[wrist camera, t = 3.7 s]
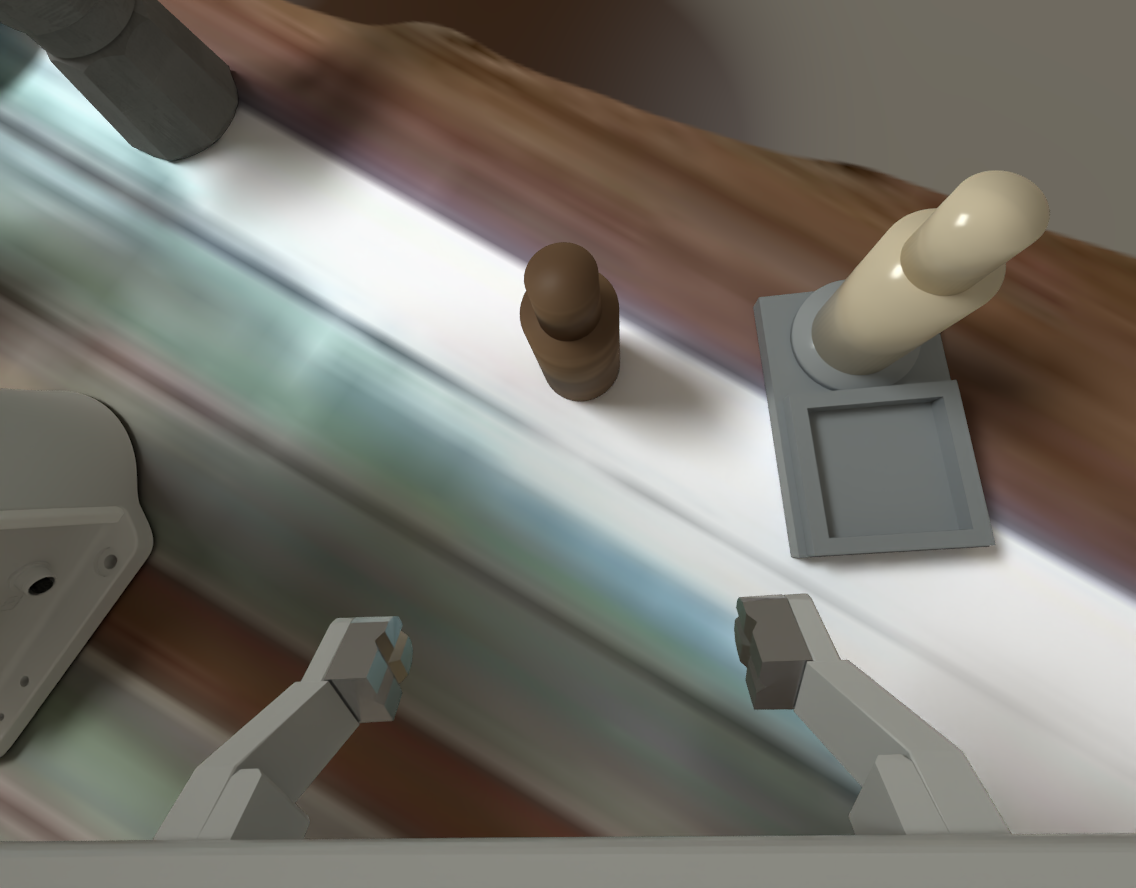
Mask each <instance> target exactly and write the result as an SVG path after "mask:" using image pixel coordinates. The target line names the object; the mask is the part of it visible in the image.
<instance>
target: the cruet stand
mask: <svg viewBox="0 0 1136 888" xmlns="http://www.w3.org/2000/svg"><path fill="white" fill-rule="evenodd" d="M1049 216H1050V210H1049V205H1048V202H1047V199H1046V197H1045V196H1044V194H1043V193H1042V191H1041V190H1040V189H1039V188H1038V187H1037V186H1036V185H1035V184H1034V183H1033V182H1031V181H1030V180H1028V179H1027V178H1025V177H1023V176H1021V175H1018V174H1015V173H1011V172H1007V171H986V172H981V173H978V174H975V175H973V176H971V177H969V178H968V179H966V180H965V181H963V182H962V183H961V184H960V185H959V186H958V187H957V188H956V189H955V190H954V191H953V193H951V195H950V196H949V197H948V198H947V199H946V200H945V201H944V202H943V203H942V204H941V205H940V206H939V207H938V208H937V209H926V210H921V211H917V212H914V213H912V214H909V215H907V216H905V217H903V218H902V219H900V220H899V221H898V222H896V223H895V224H894V225H893V226H892V227H891V228H890V229H889V230H888V231H887V232H886V234H885V235H884V236H883V237H882V238H881V239H880V241H879V242H878V243H877V244H876V245H875V246H874V247H873V249H872V250H871V251H870V252H869V253H868V254H867V256H866V257H865V258H864V259H863V260H862V261H861V262H860V264H859V265H858V266H857V267H856V268H855V269H854V271H853V272H852V273H851V274H850V275H849V276H848V278H847V279H846V280H841V281H836V282H833V283H830V284H827V285H825V286H823V287H821V288H820V289H818V290H816V291H814V292H805V293H796V294H786V295H777V296H768V297H759V298H758V300H757V302H756V303H755V305H754V307H753V309H754V315H755V322H756V329H757V335H758V342H759V348H760V355H761V362H762V368H763V375H764V381H765V388H766V395H767V401H768V408H769V414H770V421H771V428H772V434H773V441H774V447H775V454H776V461H777V467H778V474H779V480H780V487H781V493H782V500H783V507H784V513H785V520H786V526H787V533H788V540H789V546H790V553H791V557H797V558H804V557H821V556H837V555H854V554H871V553H888V552H905V551H921V550H938V549H955V548H972V547H989V546H990V545H995V541H994V537H993V532H992V528H991V524H990V519H989V515H988V511H987V507H986V502H985V498H984V494H983V490H982V485H981V481H980V477H979V473H978V468H977V464H976V460H975V456H974V451H973V447H972V443H971V438H970V434H969V430H968V426H967V421H966V417H965V413H964V409H963V404H962V400H961V396H960V392H959V387H958V383H957V380H951V379H950V374H949V370H948V366H947V362H946V357H945V353H944V349H943V344H942V340H941V336H940V333H941V332H942V331H944V330H945V329H947V328H948V327H950V326H951V325H953V324H955V323H956V322H958V321H959V320H961V319H962V318H964V317H965V316H967V315H968V314H970V313H972V312H973V311H975V310H976V309H978V308H979V307H981V306H982V305H984V304H985V303H987V302H988V301H989V300H990V299H991V298H992V297H993V296H994V295H995V294H996V293H997V291H998V290H999V288H1000V286H1001V284H1002V282H1003V279H1004V276H1005V270H1006V262H1007V261H1008V260H1010V259H1011V258H1013V257H1014V256H1015V255H1017V254H1018V253H1020V252H1021V251H1022V250H1024V249H1025V248H1027V247H1028V246H1029V245H1031V244H1032V243H1033V242H1035V241H1036V240H1037V239H1038V238H1039V237H1040V236H1041V235H1042V234H1043V233H1044V231H1045V230H1046V228H1047V225H1048V222H1049Z"/></svg>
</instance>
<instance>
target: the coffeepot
mask: <svg viewBox="0 0 1136 888" xmlns="http://www.w3.org/2000/svg"><path fill="white" fill-rule="evenodd" d="M0 22H1V23H2V24H4V25H7V26H9V27H11V28H13V29H16V30H18V31H21V32H24V33H26V34H27V35H28V36H29V37H31V38H32V39H33V40H34V41H35V42H36V43H37V44H39V45H40V46H41V47H42V48H43V49H44V50H46V52H47V54H48V56H49V59H50V61H51V62H52V63H53V64H54V65H55V66H56V67H57V68H58V69H59V70H60V71H61V72H62V74H63V75H64V76H65V77H66V78H67V79H68V80H69V81H70V82H71V83H72V84H73V85H74V86H75V87H76V88H77V89H78V90H79V91H80V92H81V93H82V94H83V96H84V97H85V98H86V99H87V100H88V101H89V102H90V103H91V104H92V105H93V106H94V107H95V108H96V109H97V110H98V111H99V112H100V113H101V114H102V115H103V117H104V118H105V119H106V120H107V121H108V122H109V123H110V124H111V125H112V126H113V127H114V128H115V129H116V130H117V131H118V132H119V133H120V134H121V135H122V136H123V137H124V139H125V140H126V141H127V142H128V143H129V144H130V145H131V146H132V147H134V148H137V149H139V150H142V151H144V152H146V153H148V154H150V155H152V156H154V157H157V158H161V159H166V160H168V161H169V160H175V159H182V158H186V157H189V156H192V155H195V154H197V153H199V152H201V151H203V150H205V149H206V148H208V147H209V146H210V145H212V144H213V143H214V142H215V141H216V140H217V139H218V138H220V137H221V136H222V134H223V133H224V132H225V130H226V129H227V128H228V126H229V125H230V123H231V121H232V119H233V117H234V114H235V111H236V108H237V104H238V95H237V88H236V85H235V83H234V80H233V78H232V76H231V73H230V69H229V66H228V65H227V64H226V63H225V62H224V61H222V60H221V59H220V58H219V57H218V56H217V55H216V54H215V53H214V52H213V51H212V50H211V49H209V48H208V47H207V46H206V45H205V44H204V43H203V42H202V41H201V40H200V39H199V38H198V37H196V36H195V35H194V34H193V33H192V32H191V31H190V30H189V29H188V28H187V27H186V26H185V25H183V24H182V23H181V22H180V21H179V20H178V19H177V18H176V17H175V16H174V15H173V14H171V13H170V12H169V11H168V10H167V9H166V8H165V7H164V6H163V5H162V4H161V3H160V2H158V1H157V0H0Z"/></svg>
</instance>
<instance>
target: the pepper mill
mask: <svg viewBox="0 0 1136 888" xmlns="http://www.w3.org/2000/svg"><path fill="white" fill-rule="evenodd" d="M524 284H525V288H526V292H525V294H524V296H523V299H522V302H521V307H520V321H521V326H522V329H523V331H524V334H525V336H526V338H527V340H528V342H529V344H530V346H531V348H532V351H533V353H534V355H535V357H536V359H537V361H538V363H539V365H540V367H541V370H542V372H543V374H544V376H545V378H546V380H547V382H548V384H549V385H550V387H551V388H552V389H553V390H554V391H555V392H556V393H557V394H559V395H560V396H562V397H564V398H566V399H569V400H573V401H588V400H592V399H595V398H597V397H599V396H601V395H602V394H604V393H605V392H606V391H608V390H609V389H610V387H611V386H612V385H613V384H614V382H615V380H616V378H617V376H618V373H619V367H620V343H619V302H618V298H617V294H616V292H615V290H614V288H613V286H612V285H611V284H610V282H609V281H608V280H607V279H606V278H605V277H604V276H603V275H601V274H600V273H598V267H597V264H596V261H595V259H594V258H593V256H592V255H591V254H590V253H589V252H588V251H587V250H586V249H584V248H583V247H581V246H579V245H576V244H573V243H566V242H561V243H554V244H551V245H548V246H546V247H544V248H542V249H541V250H539V251H538V252H537V253H536V254H535V255H534V256H533V257H532V258H531V259H530V261H529V263H528V265H527V267H526V270H525V274H524Z"/></svg>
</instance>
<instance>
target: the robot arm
mask: <svg viewBox="0 0 1136 888" xmlns="http://www.w3.org/2000/svg"><path fill="white" fill-rule="evenodd" d="M152 547H153V535H152V531H151V528H150V526H149V523H148V521H147V519H146V517H145V514H144V512H143V510H142V508H141V506H140V504H139V500H138V492H137V469H136V461H135V455H134V451H133V447H132V444H131V441H130V439H129V436H128V434H127V432H126V430H125V428H124V427H123V425H122V424H121V422H120V421H119V419H118V418H117V417H116V416H115V414H114V413H113V412H112V411H111V410H110V409H108V408H107V407H106V406H105V405H103V404H102V403H101V402H99V401H97V400H96V399H94V398H92V397H89V396H87V395H84V394H81V393H77V392H72V391H60V390H52V391H42V390H21V389H8V388H0V757H2V756H3V755H4V754H5V753H6V752H7V751H8V749H9V748H10V747H11V746H12V744H13V743H14V742H15V740H16V739H17V738H18V736H19V735H20V734H21V732H22V731H23V730H24V728H25V727H26V725H27V724H28V723H29V721H30V720H31V718H32V717H33V716H34V714H35V713H36V712H37V710H38V709H39V707H40V706H41V705H42V703H43V702H44V700H45V699H46V698H47V696H48V695H49V694H50V692H51V691H52V689H53V688H54V687H55V685H56V684H57V683H58V681H59V680H60V678H61V677H62V676H63V674H64V673H65V671H66V670H67V669H68V667H69V666H70V665H71V663H72V662H73V660H74V659H75V658H76V656H77V655H78V653H79V652H80V651H81V649H82V648H83V647H84V645H85V644H86V642H87V641H88V640H89V638H90V637H91V635H92V634H93V633H94V631H95V630H96V629H97V627H98V626H99V624H100V623H101V622H102V620H103V619H104V617H105V616H106V615H107V613H108V612H109V611H110V609H111V608H112V606H113V605H114V604H115V602H116V601H117V600H118V598H119V597H120V595H121V594H122V593H123V591H124V590H125V588H126V587H127V586H128V584H129V583H130V582H131V580H132V579H133V577H134V576H135V575H136V573H137V572H138V570H139V569H140V568H141V566H142V565H143V564H144V562H145V561H146V559H147V558H148V556H149V555H150V553H151V550H152ZM116 562H117V564H116ZM736 608H737V612H738V615H739V617H738V618H736V619H735V627H734V631H735V642H736V647H737V651H738V655H739V659H740V662H741V663H743V664H744V665H745V666H746V667H747V673H746V683H747V687H748V690H749V694H750V697H751V701H752V704H753V707H754V710H755V709H794V712H795V713H796V714H797V715H798V716H799V718H800V719H801V720H802V721H803V722H804V723H805V724H806V725H807V726H808V728H809V729H810V730H811V731H812V732H813V733H814V734H815V735H816V736H817V738H818V739H819V740H820V741H821V742H822V743H823V744H824V745H825V746H826V748H827V749H828V750H829V751H830V752H831V753H832V754H833V755H834V756H835V757H836V759H837V760H838V761H839V762H840V763H841V764H842V765H843V766H844V767H845V769H846V770H847V771H848V772H849V773H850V774H851V775H852V776H853V777H854V779H855V780H856V781H857V782H858V783H859V784H860V785H861V786H862V789H861V791H860V793H859V795H858V797H857V800H856V802H855V804H854V806H853V808H852V810H851V812H850V814H849V818H850V821H851V824H852V827H853V829H854V832H855V835H798V836H658V837H518V838H384V839H304V836H305V834H306V831H307V829H308V826H309V823H310V821H309V818H308V815H307V814H305V813H304V812H303V811H302V810H301V809H300V808H299V807H298V806H297V805H296V804H295V802H296V801H297V800H298V798H299V797H300V796H301V795H302V794H303V792H304V791H305V790H306V789H307V788H308V786H309V785H310V784H311V783H312V782H313V780H314V779H315V778H316V777H317V776H318V774H319V773H320V772H321V771H322V769H323V768H324V767H325V766H326V765H327V763H328V762H329V761H330V760H331V759H332V757H333V756H334V755H335V754H336V753H337V751H338V750H339V749H340V748H341V747H342V745H343V744H344V743H345V742H346V741H347V739H348V738H349V737H350V736H351V735H352V733H353V732H354V731H355V730H356V729H357V727H358V726H359V723H366V722H382V721H393V720H394V717H395V714H396V711H397V708H398V705H399V702H400V699H401V696H402V690H401V688H400V685H399V684H400V683H401V682H402V681H403V680H404V679H405V678H406V677H407V676H408V674H409V671H410V667H411V664H412V655H413V649H412V643H411V640H410V638H409V636H408V635H407V634H405V633H403V632H402V631H401V628H402V625H403V624H402V622H401V620H400V619H399V617H398V616H384V617H351V618H336V619H335V620H334V621H333V622H332V623H331V624H330V626H329V628H328V630H327V632H326V633H325V635H324V637H323V639H322V641H321V643H320V645H319V647H318V649H317V651H316V653H315V655H314V657H313V659H312V661H311V663H310V665H309V667H308V669H307V671H306V672H305V674H304V676H303V678H302V680H301V682H294V683H293V684H292V685H291V686H290V687H289V688H288V689H286V690H285V691H284V692H283V693H282V694H281V695H279V696H278V697H277V698H276V699H275V700H274V701H273V702H271V703H270V704H269V705H268V706H267V707H266V708H264V709H263V710H262V711H261V712H260V713H259V714H258V715H256V716H255V717H254V718H253V719H252V720H251V721H249V722H248V723H247V724H246V725H245V726H244V727H243V728H241V729H240V730H239V731H238V732H237V733H236V734H234V735H233V736H232V737H231V738H230V739H229V740H228V741H226V742H225V743H224V744H223V745H222V746H221V747H219V748H218V749H217V750H216V751H215V752H214V753H213V754H211V755H210V756H209V757H208V758H207V759H206V760H204V761H203V762H202V763H201V764H200V765H199V766H198V767H196V769H195V770H194V772H193V774H192V775H191V777H190V779H189V780H188V782H187V783H186V785H185V787H184V788H183V790H182V792H181V793H180V795H179V797H178V798H177V800H176V802H175V803H174V805H173V807H172V808H171V810H170V812H169V813H168V815H167V816H166V818H165V820H164V821H163V823H162V825H161V826H160V828H159V830H158V831H157V833H156V835H155V836H154V838H153V840H120V841H0V888H1136V833H1079V834H1011V832H1010V830H1009V829H1008V827H1007V825H1006V824H1005V822H1004V820H1003V819H1002V817H1001V815H1000V814H999V812H998V810H997V809H996V807H995V805H994V803H993V802H992V800H991V798H990V797H989V795H988V793H987V792H986V790H985V788H984V787H983V785H982V783H981V782H980V780H979V778H978V777H977V775H976V773H975V772H974V770H973V768H972V766H971V765H970V763H969V761H968V760H967V758H966V756H965V755H964V753H963V751H961V750H960V749H959V748H958V747H956V746H955V745H954V744H953V743H951V742H950V741H949V740H948V739H946V738H945V737H944V736H943V735H941V734H940V733H939V732H938V731H936V730H935V729H934V728H933V727H931V726H930V725H929V724H928V723H926V722H925V721H924V720H923V719H921V718H920V717H919V716H918V715H916V714H915V713H914V712H913V711H911V710H910V709H909V708H908V707H906V706H905V705H904V704H903V703H901V702H900V701H899V700H898V699H896V698H895V697H894V696H893V695H891V694H890V693H889V692H888V691H886V690H885V689H884V688H883V687H881V686H880V685H879V684H878V683H876V682H875V681H874V680H873V679H871V678H870V677H869V676H868V675H866V674H865V673H864V672H863V671H861V670H860V669H859V668H858V667H856V666H855V665H854V664H853V663H851V662H850V661H849V660H841V659H840V657H839V655H838V653H837V651H836V649H835V647H834V645H833V642H832V640H831V638H830V636H829V634H828V632H827V630H826V628H825V626H824V624H823V622H822V619H821V617H820V615H819V613H818V611H817V609H816V607H815V605H814V603H813V601H812V598H811V597H810V596H809V595H808V594H790V595H782V594H780V595H765V596H750V597H739V598H738V600H737V606H736Z"/></svg>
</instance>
